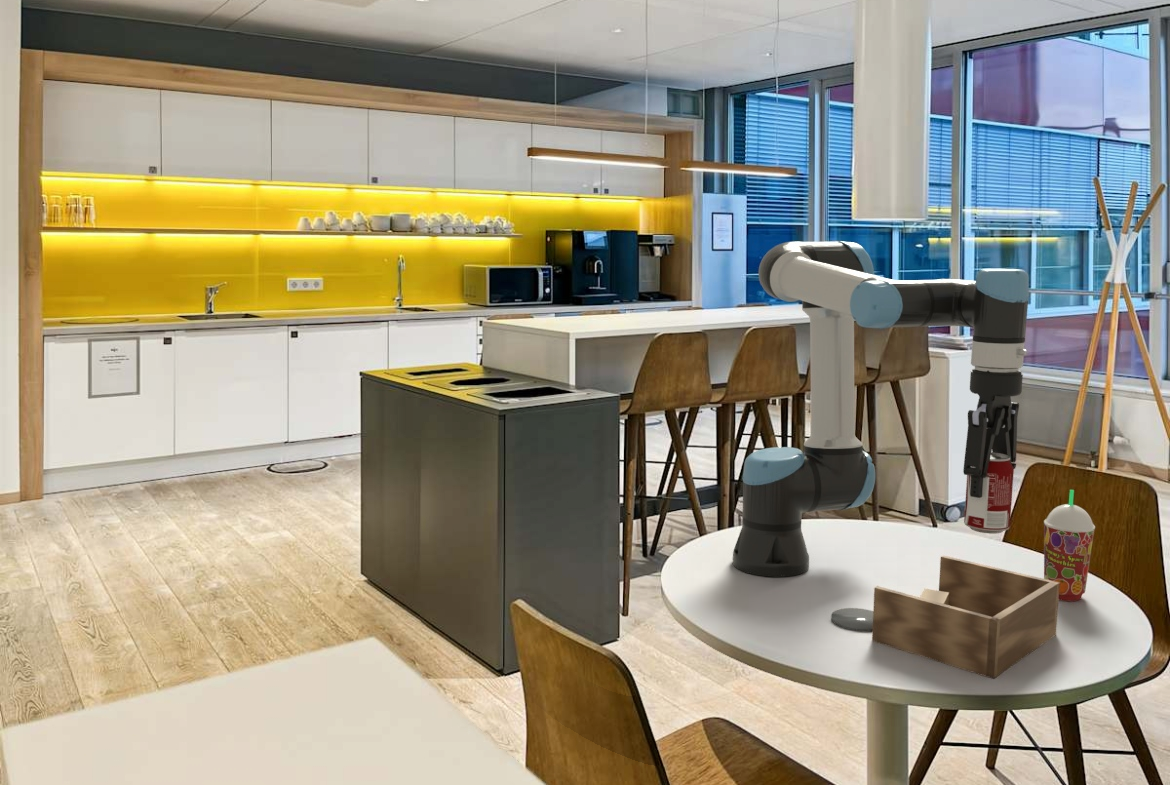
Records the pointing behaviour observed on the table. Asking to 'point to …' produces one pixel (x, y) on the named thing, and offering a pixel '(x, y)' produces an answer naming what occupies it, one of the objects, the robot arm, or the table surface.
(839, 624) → the coaster
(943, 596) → the offcut top
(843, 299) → the robot arm
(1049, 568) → the smoothie
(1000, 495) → the soda can
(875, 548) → the table surface
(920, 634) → the open wooden box
